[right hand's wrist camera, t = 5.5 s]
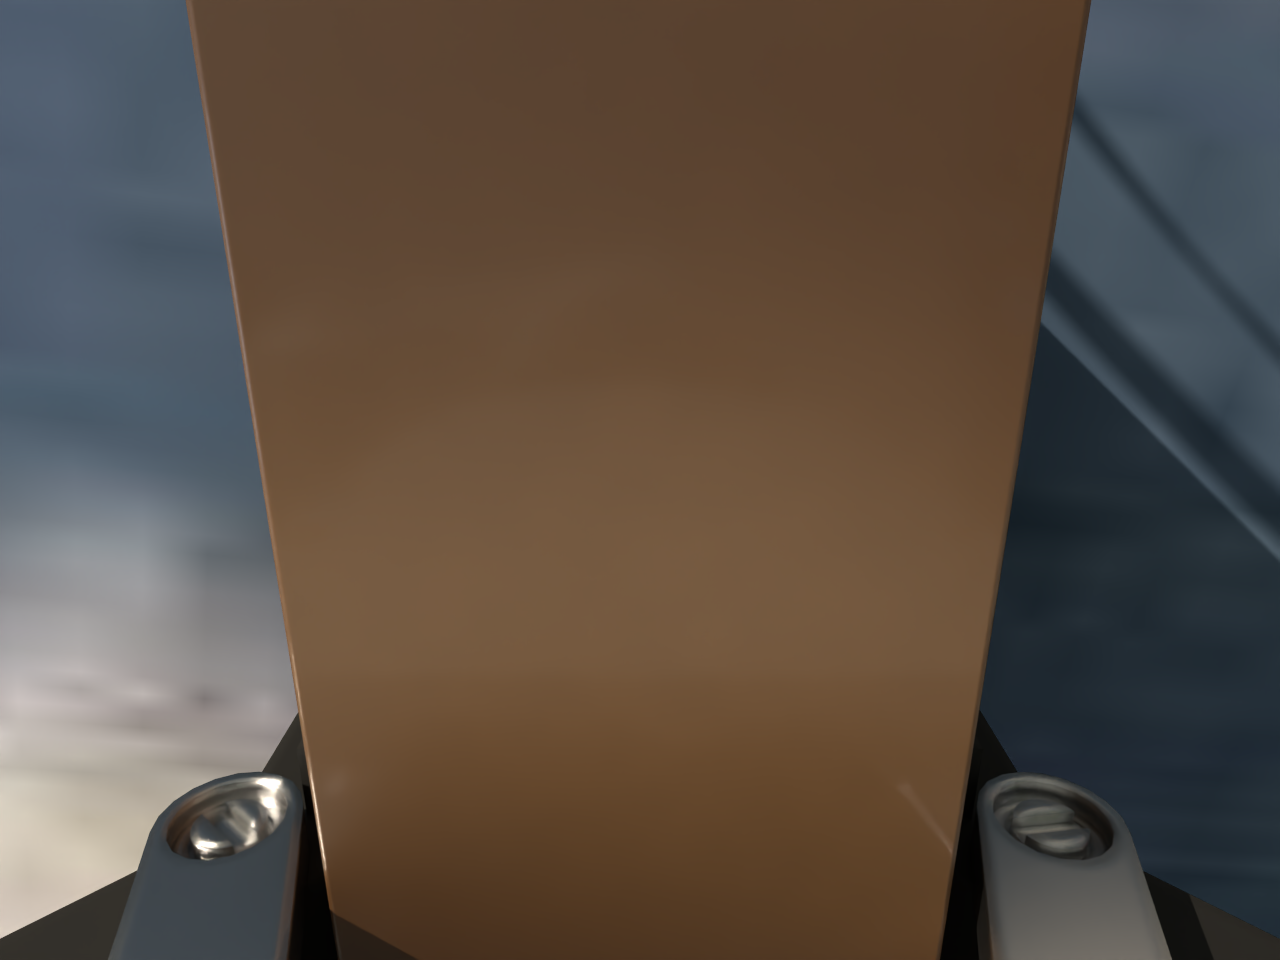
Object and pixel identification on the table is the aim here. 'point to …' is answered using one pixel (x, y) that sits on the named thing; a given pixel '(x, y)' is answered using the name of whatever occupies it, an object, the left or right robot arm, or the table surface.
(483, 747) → the post
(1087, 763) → the table surface
